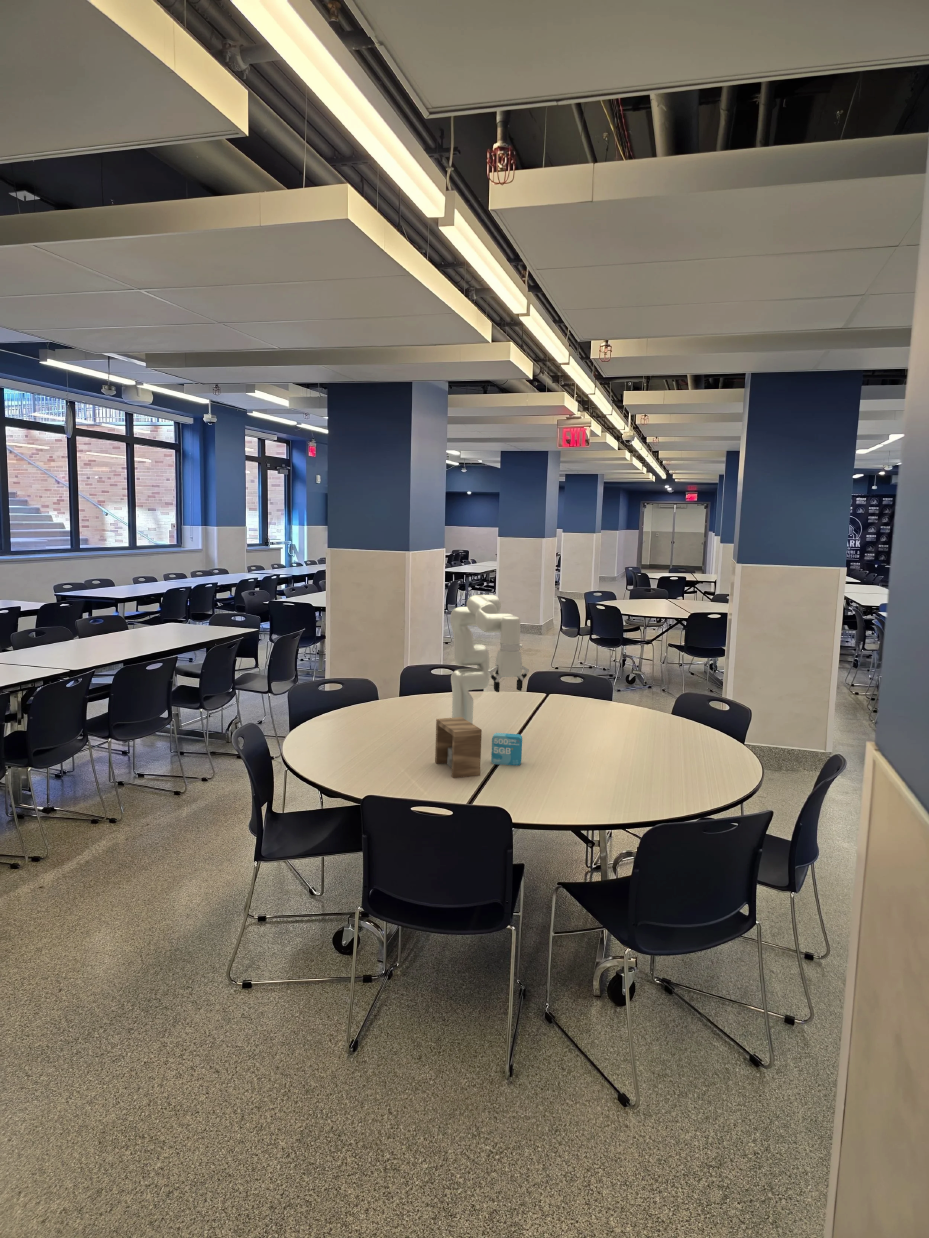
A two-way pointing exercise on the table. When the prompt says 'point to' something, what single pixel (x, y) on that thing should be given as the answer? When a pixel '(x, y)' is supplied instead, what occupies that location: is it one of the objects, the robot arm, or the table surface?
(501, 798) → the table surface
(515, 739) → the data package
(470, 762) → the overhang shelf
